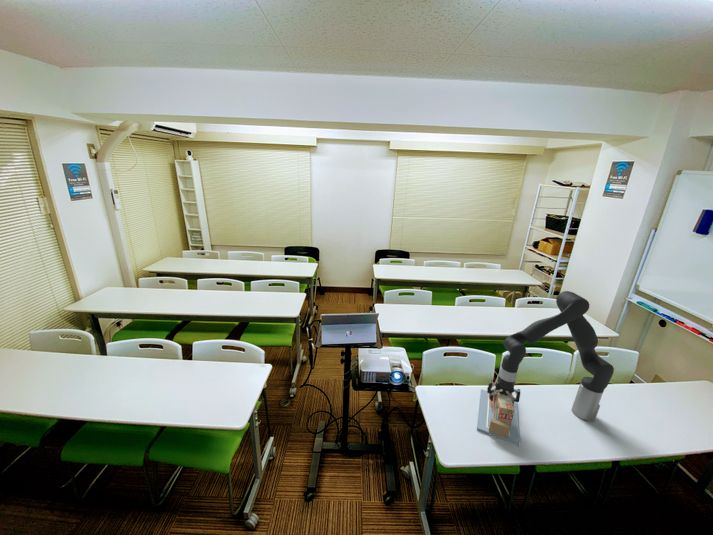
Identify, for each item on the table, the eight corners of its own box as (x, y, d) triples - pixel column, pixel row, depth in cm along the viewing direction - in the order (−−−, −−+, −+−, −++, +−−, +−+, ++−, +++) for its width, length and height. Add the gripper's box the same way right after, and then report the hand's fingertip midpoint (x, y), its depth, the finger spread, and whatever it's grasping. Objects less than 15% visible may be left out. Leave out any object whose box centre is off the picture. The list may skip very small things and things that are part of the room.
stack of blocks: (488, 396, 158) (492, 377, 154) (500, 398, 156) (504, 380, 152) (495, 427, 138) (500, 406, 134) (509, 430, 136) (515, 409, 133)
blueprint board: (516, 402, 156) (519, 391, 154) (519, 445, 130) (522, 433, 128) (480, 390, 163) (483, 380, 161) (476, 429, 138) (479, 417, 135)
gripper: (523, 376, 140) (516, 403, 145) (491, 367, 146) (485, 393, 151) (524, 385, 134) (516, 413, 138) (491, 375, 139) (485, 403, 144)
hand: (500, 403), depth 145 cm, fingers open, 8 cm apart
